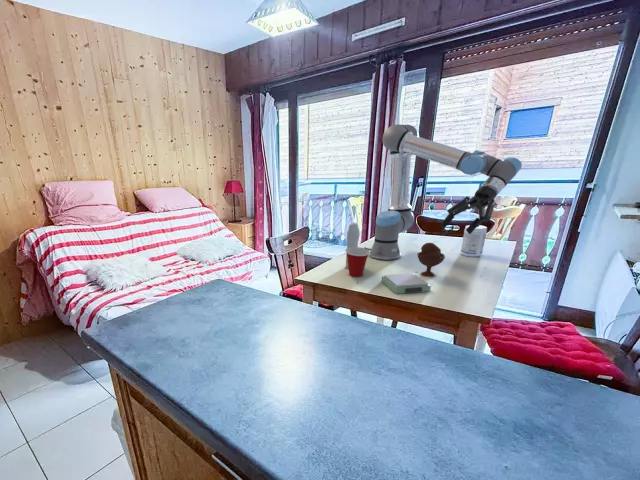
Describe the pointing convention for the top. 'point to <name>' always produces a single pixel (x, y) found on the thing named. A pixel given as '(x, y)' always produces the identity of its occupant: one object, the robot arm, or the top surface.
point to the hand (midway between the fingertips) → (454, 229)
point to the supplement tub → (473, 241)
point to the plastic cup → (356, 260)
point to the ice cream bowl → (430, 257)
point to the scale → (405, 283)
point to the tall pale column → (352, 237)
